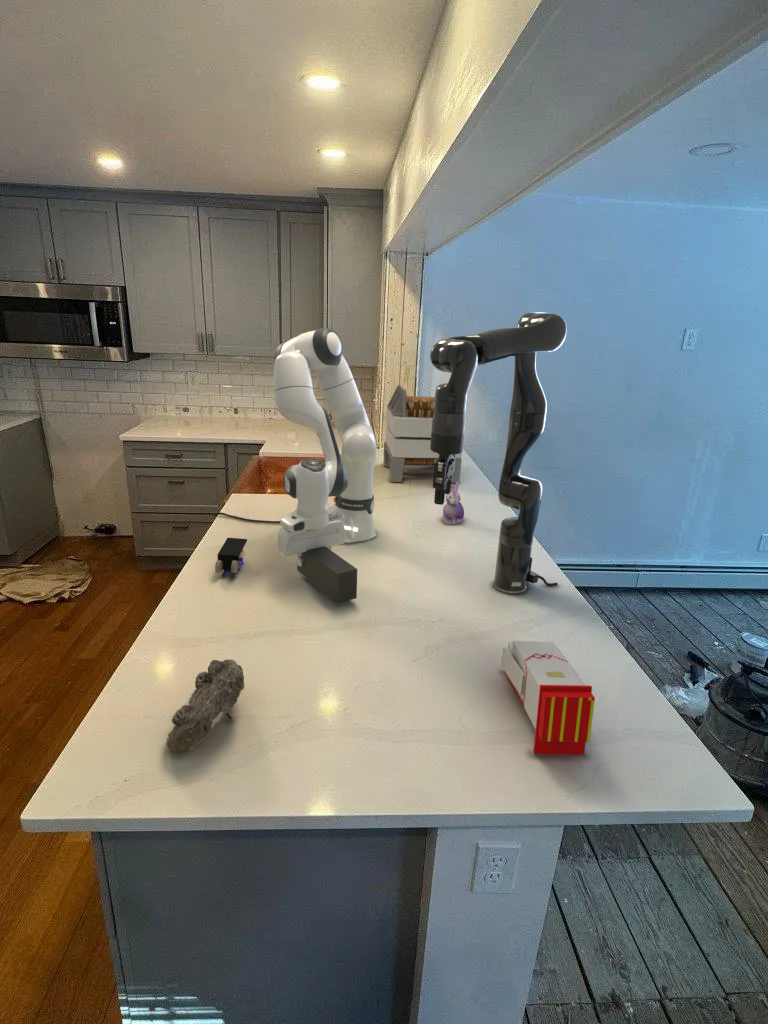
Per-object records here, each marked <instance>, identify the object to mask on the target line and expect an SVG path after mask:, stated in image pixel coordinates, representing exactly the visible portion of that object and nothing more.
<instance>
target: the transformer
mask: <svg viewBox="0 0 768 1024" xmlns="http://www.w3.org/2000/svg"><path fill="white" fill-rule="evenodd" d="M407 394H408V393H407V390H406V389H404V388H403V387H402V385H399V384H398V385H397V386H396V388H395V390H394V392H393V394H392V395H391V398H390V400H389V402H388V404H387V405H386V413H385V414H386V415H385V423H386V428H385V438H384V442H383V466H384V467H388V468H389V475H388V476H389V477H388V478H389V480H390V482H391V483H402V482H403V475H404V469H405V466H406V467H407V466H411V467H412V466H413V467H415V466H416V467H417V466H418V467H435V462H436V460H438V457H439V454H438V453H435V452H433V451H431V449H430V443H431V429H432V419H433V414H434V405H435V396H415V395H414V396H413V395H412V396H411V395H407ZM462 453H463V451H462V452H461V453H460V454H455V466H454V468H455V469H454V471H455V472H454V474H453V477H452V480H451V484H455V483H456V482H459V483H461V472H462V461H463V460H462ZM450 479H451V478H450Z"/></svg>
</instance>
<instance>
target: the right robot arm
mask: <svg viewBox="0 0 768 1024" xmlns="http://www.w3.org/2000/svg"><path fill="white" fill-rule="evenodd" d="M567 329H568V328H567V323H566V320H565V318H564V317H563V316H561V315H560V314H558V313H553V312H538V311H537V312H535V311H530V312H525V313H523V314H522V316H520V318H519V320H518V322H517V325H516V327H505V328H495V329H489V330H485V331H482V332H477V333H475V334H471V335H470V334H469V335H459V336H450V337H445V338H441V339H440V340H438V341H437V342H436V343H435V344H434V345H433V346H432V348H431V350H430V355H429V359H430V362H431V365H432V366H433V367H434V368H435V369H436V370H438V371H440V372H443V373H451V374H450V377H449V379H448V382H445V383H440V384H438V385H437V386H436V388H435V393H434V397H435V405H434V414H433V419H432V429H431V443H430V449H431V451H433V452H435V453H438V454H439V457H438V460H436V462H435V466H434V471H433V482H432V488H433V489H434V500H433V502H434V503H433V504H434V505H440V506H443V505H444V503H445V500H446V495H447V494H450V491H451V486H452V483H451V480H452V477H453V474H454V472H455V471H454V469H455V468H454V466H455V454H460V453H461V452H462V453H463V451H464V450H463V449H464V443H465V431H466V408H467V399H468V398H467V395H468V392H469V389H470V388H471V384H472V381H473V378H474V376H475V372H476V370H477V367H478V366H483V365H487V364H491V363H494V362H497V361H501V360H505V359H508V358H511V357H514V369H513V370H514V374H513V385H512V395H511V403H510V408H509V418H508V431H507V439H506V448H505V453H504V459H503V463H502V469H501V474H500V479H499V484H498V495H497V496H498V500H499V502H500V504H501V505H503V506H505V507H507V508H512V509H514V510H518V511H519V512H518V516H510V517H506V518H504V519H502V521H501V522H500V529H499V535H498V545H497V554H496V561H495V570H494V577H493V581H492V582H493V584H492V586H493V588H495V589H496V590H497V591H499V592H502V593H505V594H511V595H518V594H519V595H520V594H522V593H524V592H526V590H527V589H529V585H530V584H532V585H533V584H536V583H538V581H539V579H540V580H541V581H542V582H543V584H545V585H546V586H547V587H554V586H558V582H552V583H551V582H547V580H546V579H545V577H543V576H542V575H540V574H539V573H537V572H535V571H533V570H532V565H533V557H532V556H531V554H532V548H533V541H534V533H535V529H536V526H537V523H538V519H539V513H540V508H541V505H542V499H543V492H544V491H543V490H544V489H543V484H542V482H541V481H540V480H539V479H535V478H531V477H528V476H525V475H521V470H522V464H523V461H524V458H525V456H526V455H527V453H528V452H529V451H530V450H531V449H532V447H533V446H534V445H535V444H536V443H537V442H538V440H539V438H540V437H541V436H542V435H543V432H544V429H545V427H546V426H545V425H546V419H547V418H546V417H547V410H548V403H547V399H546V395H545V393H544V390H543V387H542V385H541V383H540V382H541V381H540V380H539V377H538V374H537V365H536V362H537V352H540V353H550V352H555V351H556V350H558V349H559V348H561V346H562V345H563V344H564V342H565V340H566V337H567ZM462 453H461V454H462ZM450 478H451V479H450ZM439 481H441V482H439Z"/></svg>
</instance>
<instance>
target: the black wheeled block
mask: <svg viewBox="0 0 768 1024" xmlns="http://www.w3.org/2000/svg"><path fill="white" fill-rule="evenodd" d="M247 542H248V538H240V537H226V539H225V541H224V543H223V544H222V546H221V547H220V549H219V551H218V552H217V560H216V562H215V564H214V572H215V573H221V577H222V578H224V577H225V576H226V574H227V573H230V574H231V573H232V574H231V578H234V577H235V575H236V573H237V572H239V571H240V567H242V566H243V565H244V564H245V562H244V558H245V551H244V547H245V546H246V544H247Z"/></svg>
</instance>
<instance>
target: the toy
mask: <svg viewBox="0 0 768 1024" xmlns="http://www.w3.org/2000/svg"><path fill="white" fill-rule="evenodd" d="M500 666H501V668H502V669H503V672H504V674H505V676H506V678H507V679H508V681H509V683H510V685H511V686H512V688H513V690H514V691H515V693H516V695H517V697H518V698H519V701H520V702H521V703H522V705H523V707H524V710H525V712H526V714H527V716H528V718H529V720H530V722H531V724H532V725H533V728H534V730H535V731H534V743H533V755H566V756H567V755H569V756H570V755H571V756H572V755H573V756H584V755H585V752H586V751H585V750H586V743H590V741H591V734H592V732H591V731H592V725H593V716H594V710H595V709H594V708H595V699H596V697H595V696H594V694H593V693H592V692H593V687H592V685H587V684H585V681H583V679H581V677H580V676H579V674H578V673H577V672H576V670H575V669H574V667H573V666H572V664H570V662H569V660H568V659H567V658H566V656H564V654H563V653H562V651H561V650H560V648H559V646H557V645H556V643H555V642H554V641H545V640H544V641H543V640H542V641H540V640H537V641H536V640H512V641H509V642H507V647H506V646H503V647H502V653H501V660H500Z"/></svg>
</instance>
